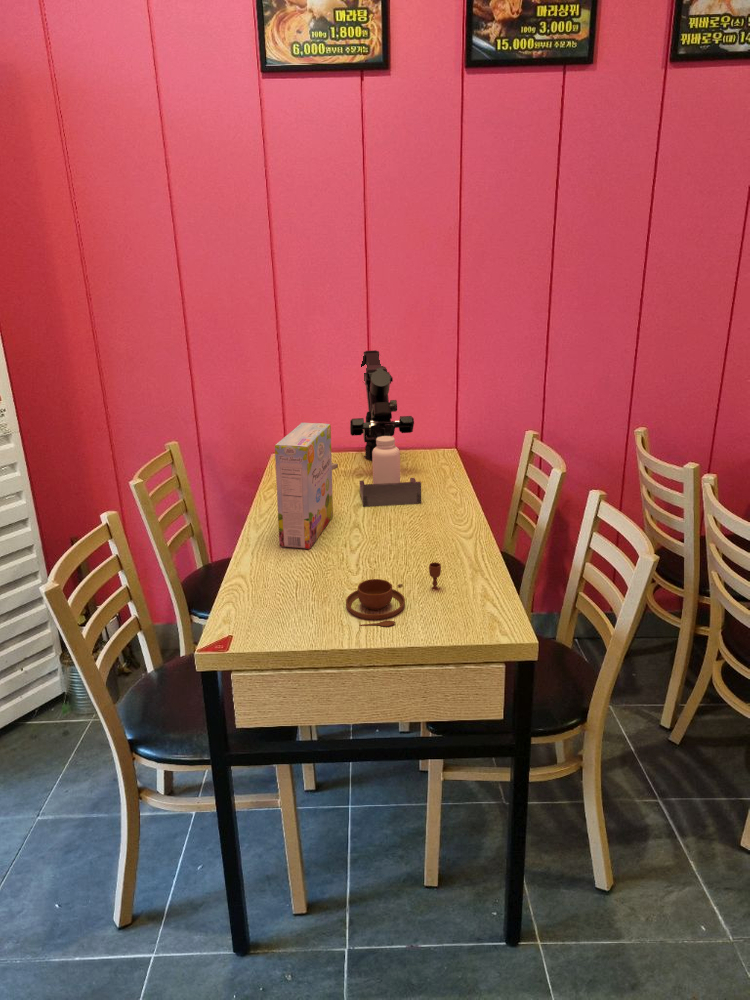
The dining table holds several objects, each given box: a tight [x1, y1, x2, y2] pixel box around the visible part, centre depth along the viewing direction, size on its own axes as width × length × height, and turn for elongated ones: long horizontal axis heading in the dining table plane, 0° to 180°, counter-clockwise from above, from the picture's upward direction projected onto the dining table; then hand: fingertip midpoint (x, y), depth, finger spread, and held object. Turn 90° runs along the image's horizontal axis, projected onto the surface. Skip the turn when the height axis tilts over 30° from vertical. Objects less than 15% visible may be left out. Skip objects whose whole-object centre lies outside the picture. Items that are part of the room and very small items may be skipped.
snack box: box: [274, 422, 334, 550], centre depth 183 cm, size 22×9×26 cm, turn 168°
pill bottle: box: [372, 436, 401, 484], centre depth 214 cm, size 8×8×15 cm
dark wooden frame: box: [359, 477, 422, 508], centre depth 208 cm, size 13×16×6 cm
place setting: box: [345, 562, 442, 628], centre depth 150 cm, size 18×20×6 cm
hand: (384, 450), depth 218 cm, fingers closed
